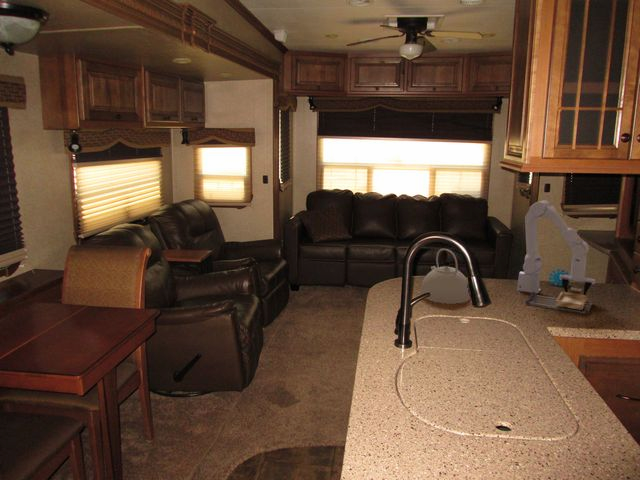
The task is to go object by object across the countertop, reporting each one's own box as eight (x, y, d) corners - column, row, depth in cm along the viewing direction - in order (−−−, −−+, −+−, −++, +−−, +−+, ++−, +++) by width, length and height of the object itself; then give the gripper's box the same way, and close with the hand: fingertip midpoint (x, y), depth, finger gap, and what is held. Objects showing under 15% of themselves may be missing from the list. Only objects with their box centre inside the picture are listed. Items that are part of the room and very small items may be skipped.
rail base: (525, 304, 231) (525, 300, 231) (532, 295, 244) (533, 291, 244) (587, 315, 218) (587, 311, 217) (591, 304, 231) (592, 301, 231)
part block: (568, 300, 238) (569, 289, 237) (570, 297, 241) (571, 287, 240) (579, 302, 235) (580, 291, 234) (580, 299, 239) (581, 289, 238)
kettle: (409, 289, 252) (411, 244, 247) (450, 285, 259) (453, 242, 254) (435, 306, 229) (438, 256, 224) (479, 301, 235) (483, 253, 231)
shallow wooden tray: (555, 307, 225) (555, 300, 224) (561, 297, 237) (561, 291, 237) (582, 311, 219) (582, 304, 218) (586, 301, 232) (587, 295, 231)
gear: (544, 280, 262) (554, 265, 265) (546, 286, 266) (555, 271, 269) (566, 288, 255) (575, 272, 257) (568, 294, 259) (576, 278, 262)
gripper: (559, 267, 236) (556, 296, 238) (595, 272, 228) (591, 301, 231) (562, 264, 241) (559, 292, 244) (596, 269, 234) (593, 297, 236)
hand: (575, 296), depth 238 cm, fingers open, 7 cm apart
